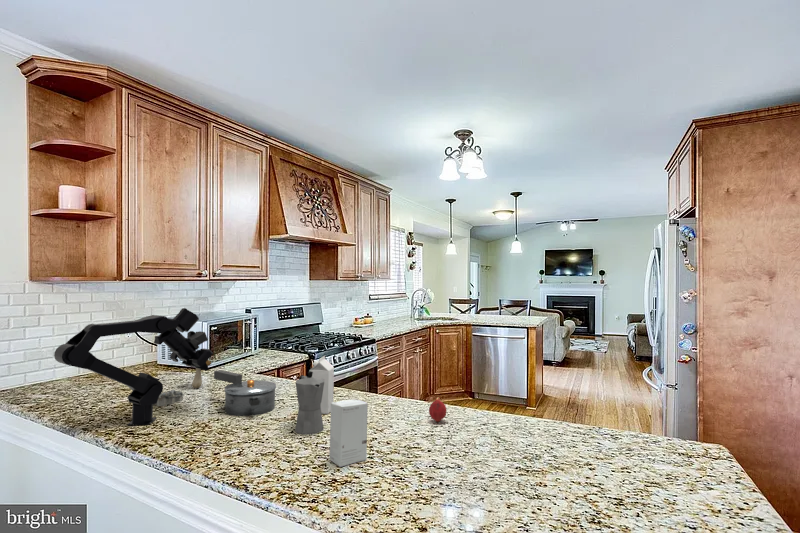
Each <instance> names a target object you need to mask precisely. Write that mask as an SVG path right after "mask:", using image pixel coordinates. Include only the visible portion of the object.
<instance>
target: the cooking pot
mask: <svg viewBox="0 0 800 533" xmlns="http://www.w3.org/2000/svg"><path fill="white" fill-rule="evenodd" d="M224 394H225V396H224V397H225V398H224V412H225V414H227V415H229V416H233V417H234V416H236V417H237V416H238V417H250V416H251V417H252V416H258V415H264V414H266V413H269V412H271V411H273V410H274V409H275V408H276V404H275V403H276V389H274V390H273V391H270V392H267V393H262V394H256V395H232V394H227V393H225V392H224Z"/></svg>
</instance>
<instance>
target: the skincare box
mask: <svg viewBox="0 0 800 533" xmlns="http://www.w3.org/2000/svg"><path fill="white" fill-rule="evenodd" d="M368 405H369V404H368V402H366V401H365V400H362V399H357V398H355V399H345V400H339V401H333V402H332V403H331V411H330V422H329V424H330V425H329V430H330V431H329V461H331V462H333V464H335V465H337V466H338V467H339V468H341V467H342V468H343V467H345V466H348V465H351V464H355V463H359V462H363V461H366V460H367V456H368V455H367V450H368V447H367V446H368V411H369V410H368V408H369V406H368Z"/></svg>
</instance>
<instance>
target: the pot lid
mask: <svg viewBox="0 0 800 533" xmlns="http://www.w3.org/2000/svg"><path fill="white" fill-rule="evenodd" d="M213 379H214V380H218V381H220V382H221V381H222V382H226V383H230V384H227V385H225V386H224V394H225V393H227V394H232V395H256V394H262V393H267V392H270V391H273V390H274V389H275V390H276V388H277V384H276V383H275V382H273V381H268V380H254V379H249V380H244V381H243V374H240V373H238V372H237V373H236V372H230V371H226V370H222V369H218V370H214V371H213Z"/></svg>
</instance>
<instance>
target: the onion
mask: <svg viewBox="0 0 800 533" xmlns="http://www.w3.org/2000/svg"><path fill="white" fill-rule="evenodd" d="M428 413H429V416H430V417H431V419H432V420H433V421H435V422H436V423H440V422H441V421H442V420H444V418H445V417H446V415H447V406H446V405H445V403H444V402H443V401H441V398H440V397H436V398H435V400H434V401H433V402H432V403H431V404H430V406H429V409H428Z"/></svg>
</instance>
